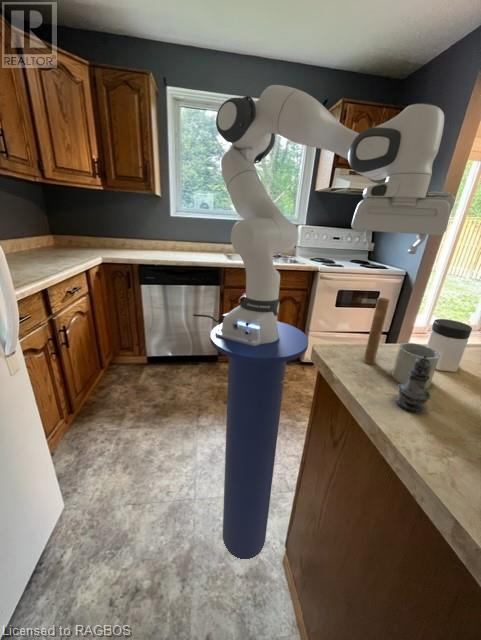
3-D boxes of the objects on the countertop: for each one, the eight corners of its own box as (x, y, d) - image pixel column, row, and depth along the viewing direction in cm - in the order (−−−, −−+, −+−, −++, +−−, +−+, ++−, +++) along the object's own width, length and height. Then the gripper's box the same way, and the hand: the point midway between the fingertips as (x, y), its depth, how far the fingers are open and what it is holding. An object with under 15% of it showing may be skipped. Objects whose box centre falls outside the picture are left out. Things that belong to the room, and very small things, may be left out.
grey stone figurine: (388, 401, 58) (402, 351, 54) (403, 393, 61) (417, 345, 57) (416, 418, 53) (434, 364, 49) (431, 408, 56) (449, 357, 52)
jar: (448, 359, 79) (461, 320, 74) (465, 373, 71) (481, 331, 67) (415, 355, 80) (426, 317, 76) (429, 369, 72) (442, 327, 68)
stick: (363, 363, 74) (378, 299, 68) (362, 358, 77) (376, 297, 70) (375, 364, 73) (390, 301, 67) (373, 360, 76) (388, 298, 70)
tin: (395, 384, 65) (404, 354, 62) (389, 368, 72) (396, 340, 69) (434, 391, 62) (445, 361, 60) (423, 374, 70) (432, 346, 67)
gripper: (451, 193, 62) (433, 254, 67) (357, 190, 68) (346, 247, 73) (463, 190, 57) (442, 257, 62) (359, 187, 62) (347, 249, 67)
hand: (389, 252), depth 67 cm, fingers open, 8 cm apart
